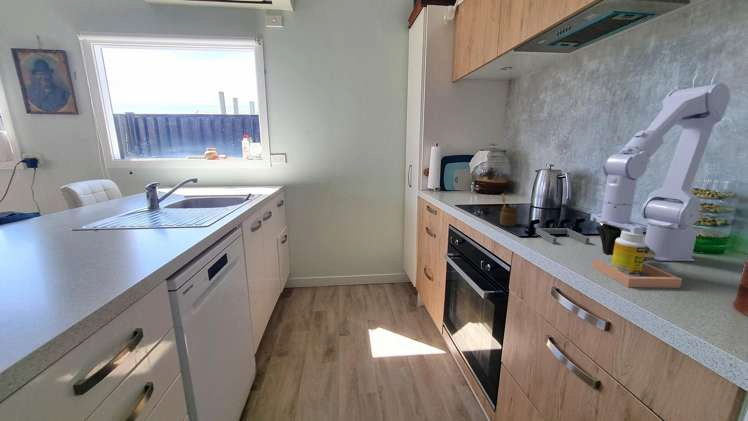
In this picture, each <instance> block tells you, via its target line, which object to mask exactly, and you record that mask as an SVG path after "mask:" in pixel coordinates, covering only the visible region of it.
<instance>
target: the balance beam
mask: <svg viewBox="0 0 748 421" xmlns="http://www.w3.org/2000/svg"><path fill="white" fill-rule="evenodd" d="M598 224H599V226H602V225H603V224H602V223H599V222H598ZM654 257H655V252H654V251H652V250H651V249H650V248H649V247H648V246H647V245H646V249H645V254H644V258H647V259H653V258H654Z"/></svg>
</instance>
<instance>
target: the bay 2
mask: <svg viewBox="0 0 748 421" xmlns="http://www.w3.org/2000/svg"><path fill="white" fill-rule="evenodd" d="M591 266H592V268H593V269H596V270H597V271H599V272H600V273H602V274H604V275H606V276H608V277H609V278H611V279H613V280H614V281H616V282H617V283H620V285H621V284H622V286H625V287H627V288H663V289H664V288H669V289H670V288H675V289H676V288H681V286H682V281H683V279H682V278H681V277H678V276H677V275H674V274H671V273H669V272H667V271H666V270H665V271H664V270H662V269H660V268H658V267H656V266H653V265H652V264H650V263H647V262H645V261H643V264H642V269H641V272H643V273H644V274H647V275H648V276H637V277H630V276H628V275H626V274H624V273H622V272H620V271H619V270H617V269H615V268H613V267H611V265H609V264H607V263H605V262H603V261H602V260H600V259H598V258H597V259H593V261H592V265H591Z"/></svg>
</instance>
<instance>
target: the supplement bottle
mask: <svg viewBox="0 0 748 421" xmlns="http://www.w3.org/2000/svg"><path fill="white" fill-rule="evenodd" d="M644 241H645V240H644V233H642V234H633V233H630V231H627V230H623V231H621V236H620V238H617V239H616V240H615V245H614V251H613V255H611V256H612V257H611V264H610V266H611V267H613V268H615V269H617V270H619V271H620V272H622V273H624V274H626V275H628V276H630V277H640V276H641V272H642V271H641V269H642V264H643V262H644V260H643V259H644V254H645V249H646V243H645V242H644Z"/></svg>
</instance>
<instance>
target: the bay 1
mask: <svg viewBox="0 0 748 421" xmlns="http://www.w3.org/2000/svg"><path fill="white" fill-rule="evenodd" d="M535 233H537V234H538V235H540V236H541V237H540V236H539V237H540V238H541V239H543V240H545V241H547V242H549V243H551V244H553V245H556V244H557V239H558V237H556V236H555V235H550V234H567V235H566V236H568V235H569V236H568V237H569V238H572V239H574V240H576V241H579V242H580V243H582V244H585V245H589V244H590V237H588V236H586V235H583V234H582V233H580V232H577V231H575V230H572V229H570V228H569V227H568V228H558V227H557V228H556V227H555V228H550V227H549V228H547V227H544V228H543V227H542V228H540V227H539V228H535ZM535 233H534V234H535ZM538 235H537V236H538Z"/></svg>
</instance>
